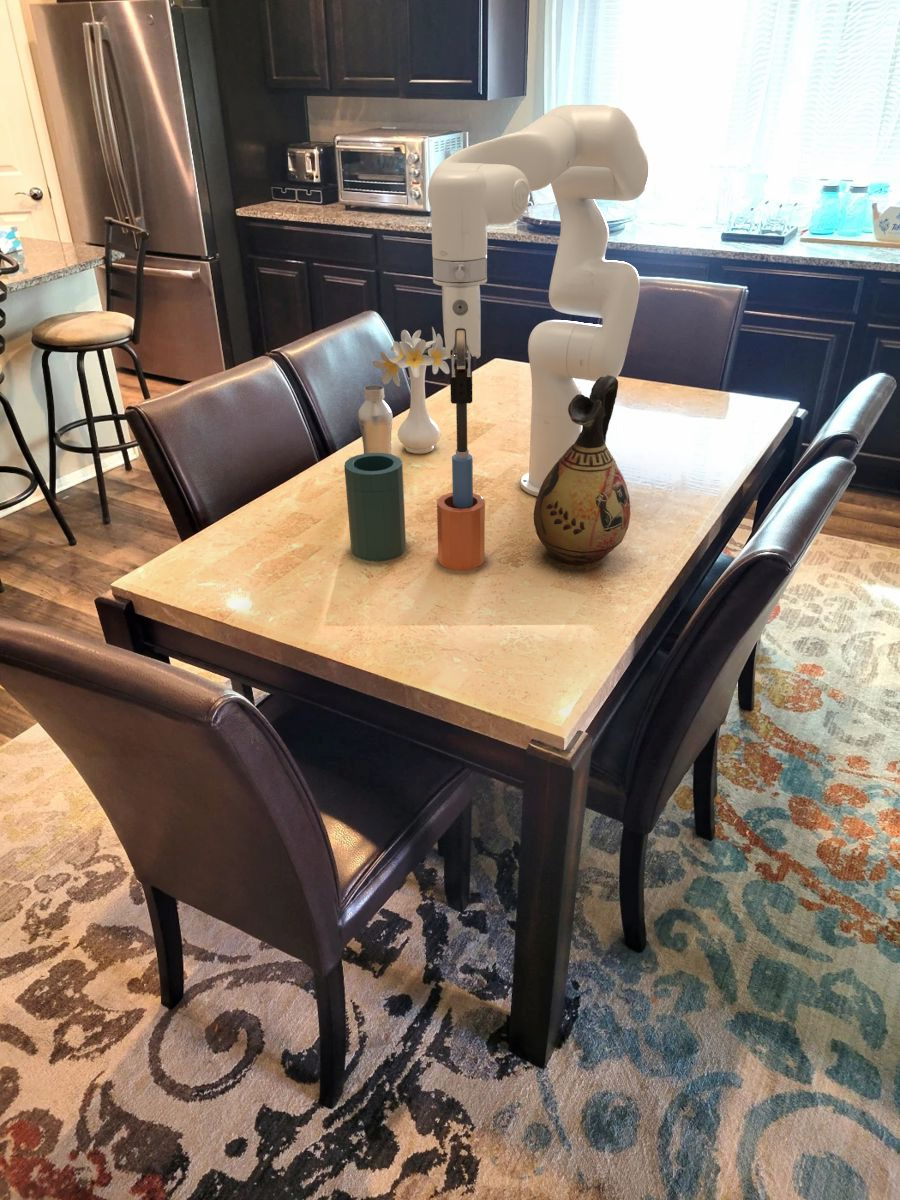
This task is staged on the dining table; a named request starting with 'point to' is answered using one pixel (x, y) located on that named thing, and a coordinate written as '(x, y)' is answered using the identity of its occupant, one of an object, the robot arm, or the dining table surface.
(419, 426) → the flower vase
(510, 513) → the dining table surface
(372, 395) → the metal bottle
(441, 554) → the crock
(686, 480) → the dining table surface
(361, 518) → the teal hollow cylinder
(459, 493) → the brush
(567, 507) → the ceramic jug
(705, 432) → the dining table surface
